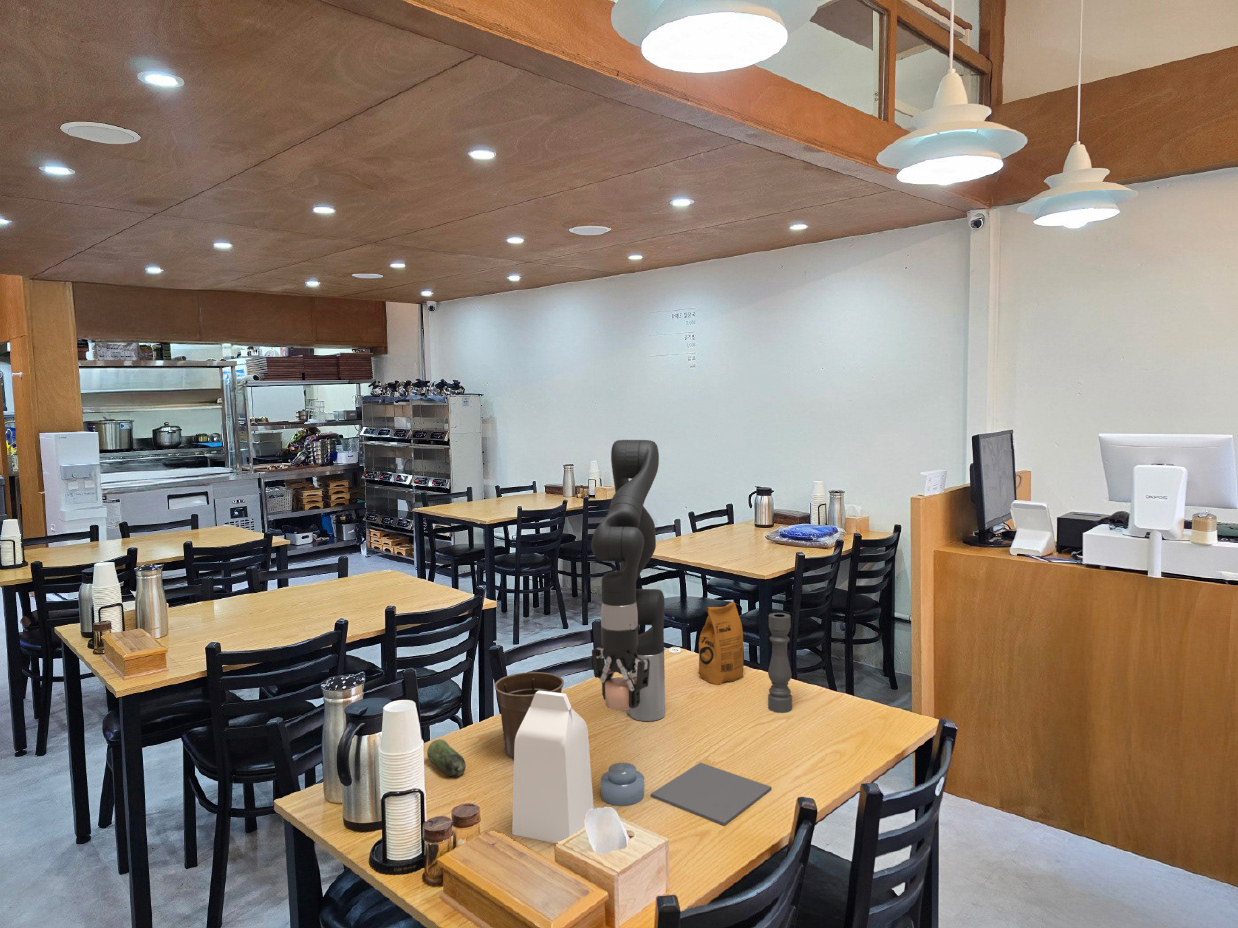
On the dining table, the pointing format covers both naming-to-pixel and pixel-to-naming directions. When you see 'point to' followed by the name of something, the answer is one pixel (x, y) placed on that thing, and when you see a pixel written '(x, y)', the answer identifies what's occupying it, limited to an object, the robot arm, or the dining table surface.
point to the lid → (617, 694)
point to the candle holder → (779, 664)
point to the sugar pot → (622, 785)
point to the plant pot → (521, 700)
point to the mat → (711, 793)
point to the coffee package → (721, 645)
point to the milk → (551, 770)
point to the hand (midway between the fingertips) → (621, 702)
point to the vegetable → (446, 758)
